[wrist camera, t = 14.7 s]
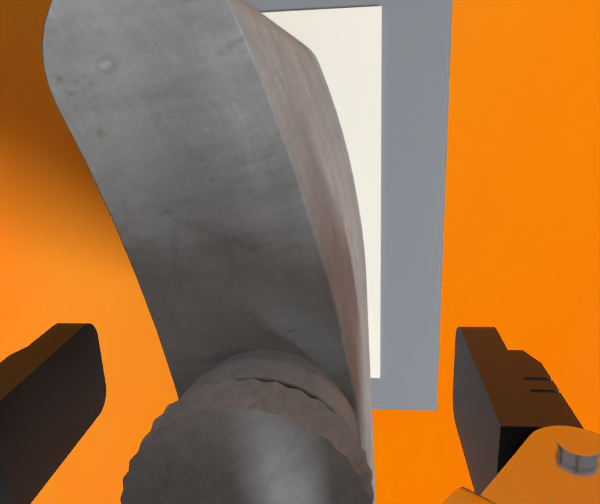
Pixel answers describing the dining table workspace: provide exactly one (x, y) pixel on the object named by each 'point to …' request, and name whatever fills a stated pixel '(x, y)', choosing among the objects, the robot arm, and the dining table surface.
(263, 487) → the hip flask
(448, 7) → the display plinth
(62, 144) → the dining table surface
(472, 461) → the robot arm
